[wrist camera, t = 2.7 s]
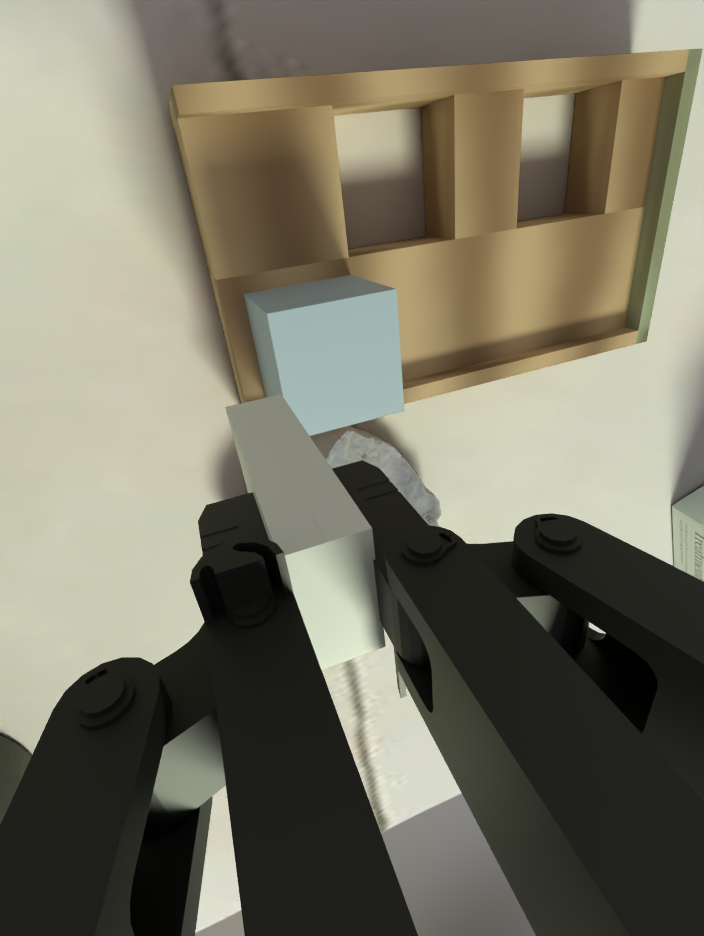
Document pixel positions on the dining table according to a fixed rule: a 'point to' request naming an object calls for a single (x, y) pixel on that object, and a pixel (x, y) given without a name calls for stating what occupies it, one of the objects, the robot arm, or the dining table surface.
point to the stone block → (378, 465)
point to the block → (330, 350)
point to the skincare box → (689, 534)
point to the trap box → (448, 207)
